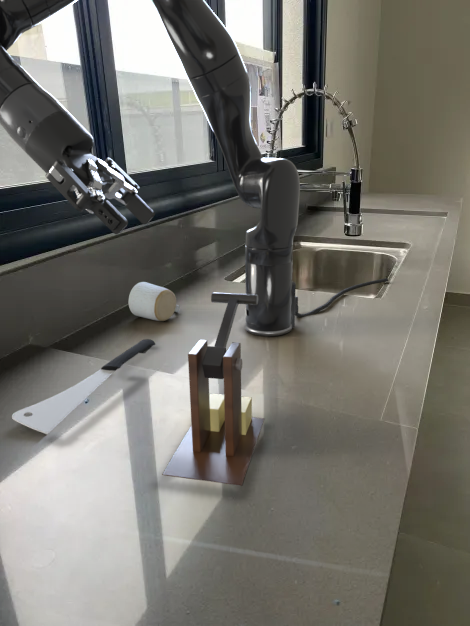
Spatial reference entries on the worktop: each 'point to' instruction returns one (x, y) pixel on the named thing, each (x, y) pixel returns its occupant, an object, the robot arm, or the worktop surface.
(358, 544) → the worktop surface
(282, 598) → the worktop surface
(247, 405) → the butter
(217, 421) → the butter
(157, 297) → the ceramic mug
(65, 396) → the kitchen cleaver
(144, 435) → the worktop surface
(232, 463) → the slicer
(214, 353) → the lever
